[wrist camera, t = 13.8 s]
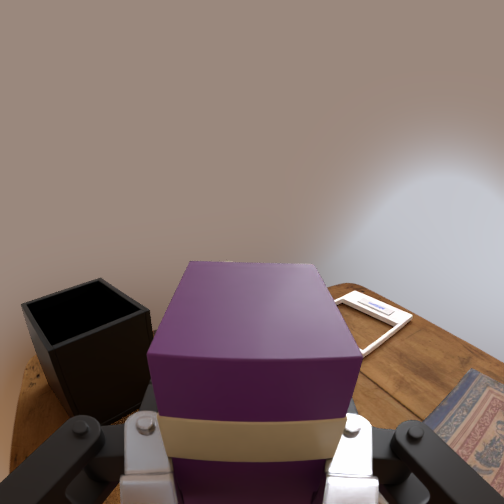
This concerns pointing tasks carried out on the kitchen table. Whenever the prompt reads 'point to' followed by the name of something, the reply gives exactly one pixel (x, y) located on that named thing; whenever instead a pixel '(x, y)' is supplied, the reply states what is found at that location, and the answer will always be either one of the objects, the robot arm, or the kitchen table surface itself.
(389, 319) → the photo frame
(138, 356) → the waste bin
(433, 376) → the kitchen table surface
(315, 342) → the chocolate bar
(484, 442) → the book
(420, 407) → the kitchen table surface
